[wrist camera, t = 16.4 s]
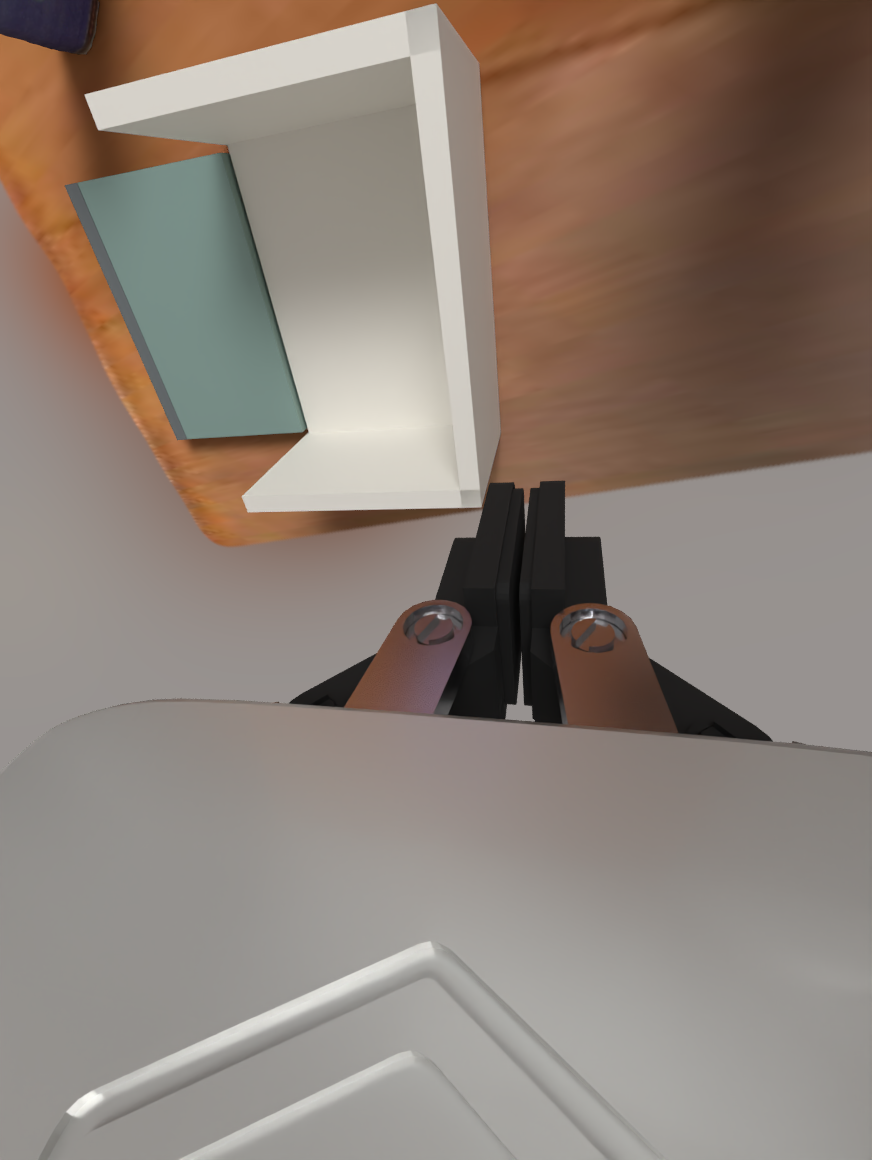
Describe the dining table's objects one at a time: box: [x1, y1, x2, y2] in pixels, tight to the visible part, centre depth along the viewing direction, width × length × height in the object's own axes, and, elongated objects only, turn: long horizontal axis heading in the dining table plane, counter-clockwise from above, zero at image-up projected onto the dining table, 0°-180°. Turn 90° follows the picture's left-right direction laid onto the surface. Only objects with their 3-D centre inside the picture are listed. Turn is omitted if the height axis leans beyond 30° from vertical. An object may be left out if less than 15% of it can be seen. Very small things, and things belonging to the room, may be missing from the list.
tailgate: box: [65, 153, 307, 440], centre depth 39 cm, size 1×18×12 cm
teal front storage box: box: [85, 4, 501, 512], centre depth 32 cm, size 16×21×12 cm
